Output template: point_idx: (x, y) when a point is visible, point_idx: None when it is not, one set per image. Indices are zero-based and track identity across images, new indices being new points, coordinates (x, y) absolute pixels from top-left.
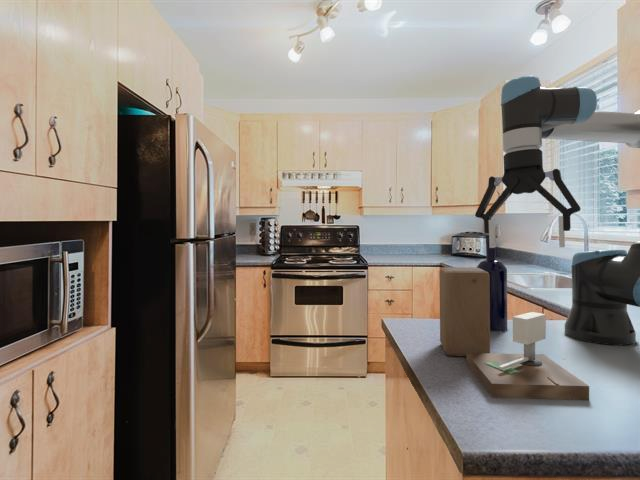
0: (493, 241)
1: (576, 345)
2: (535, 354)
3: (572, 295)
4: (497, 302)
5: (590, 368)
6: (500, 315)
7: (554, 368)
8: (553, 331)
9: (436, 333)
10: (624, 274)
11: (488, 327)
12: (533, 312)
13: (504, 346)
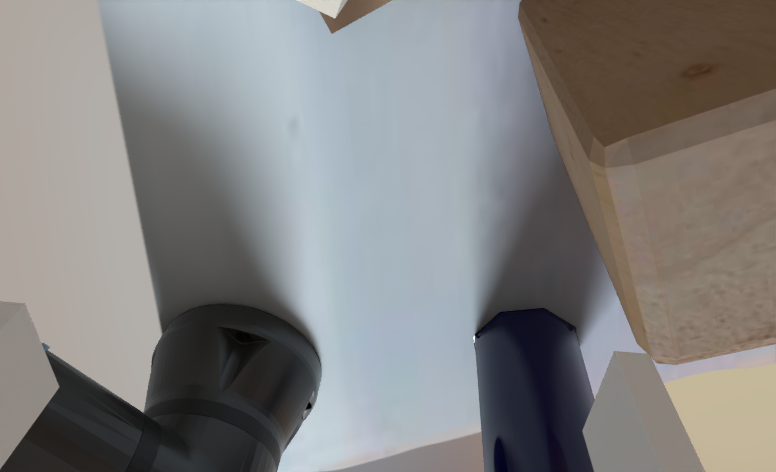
0: (627, 423)
1: (279, 270)
2: (356, 16)
3: (271, 467)
4: (514, 395)
5: (215, 71)
6: (499, 360)
7: None
8: (349, 369)
9: None
10: (17, 449)
11: (539, 27)
12: (325, 4)
13: (473, 169)
